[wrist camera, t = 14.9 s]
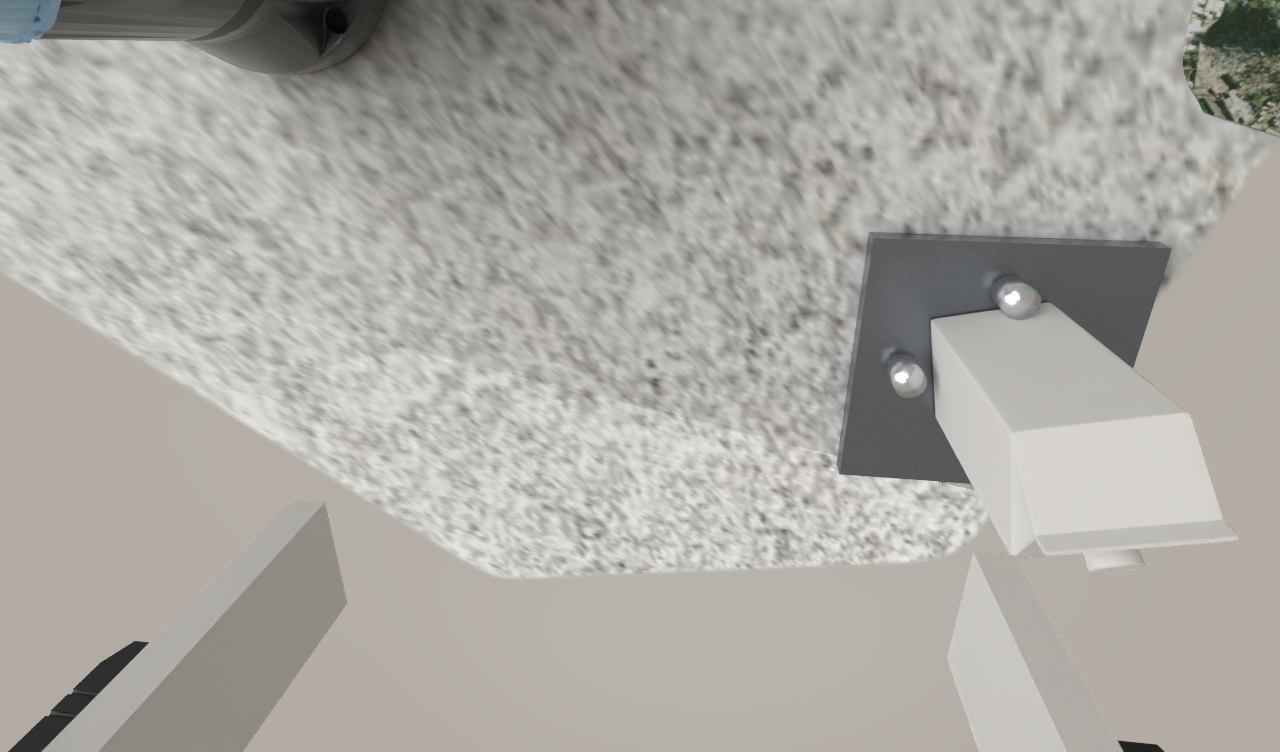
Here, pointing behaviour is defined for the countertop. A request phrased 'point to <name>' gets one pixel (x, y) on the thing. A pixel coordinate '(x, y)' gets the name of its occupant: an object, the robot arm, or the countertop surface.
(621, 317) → the countertop surface
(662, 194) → the countertop surface
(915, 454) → the plate
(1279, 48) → the topographical model
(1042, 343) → the milk carton
